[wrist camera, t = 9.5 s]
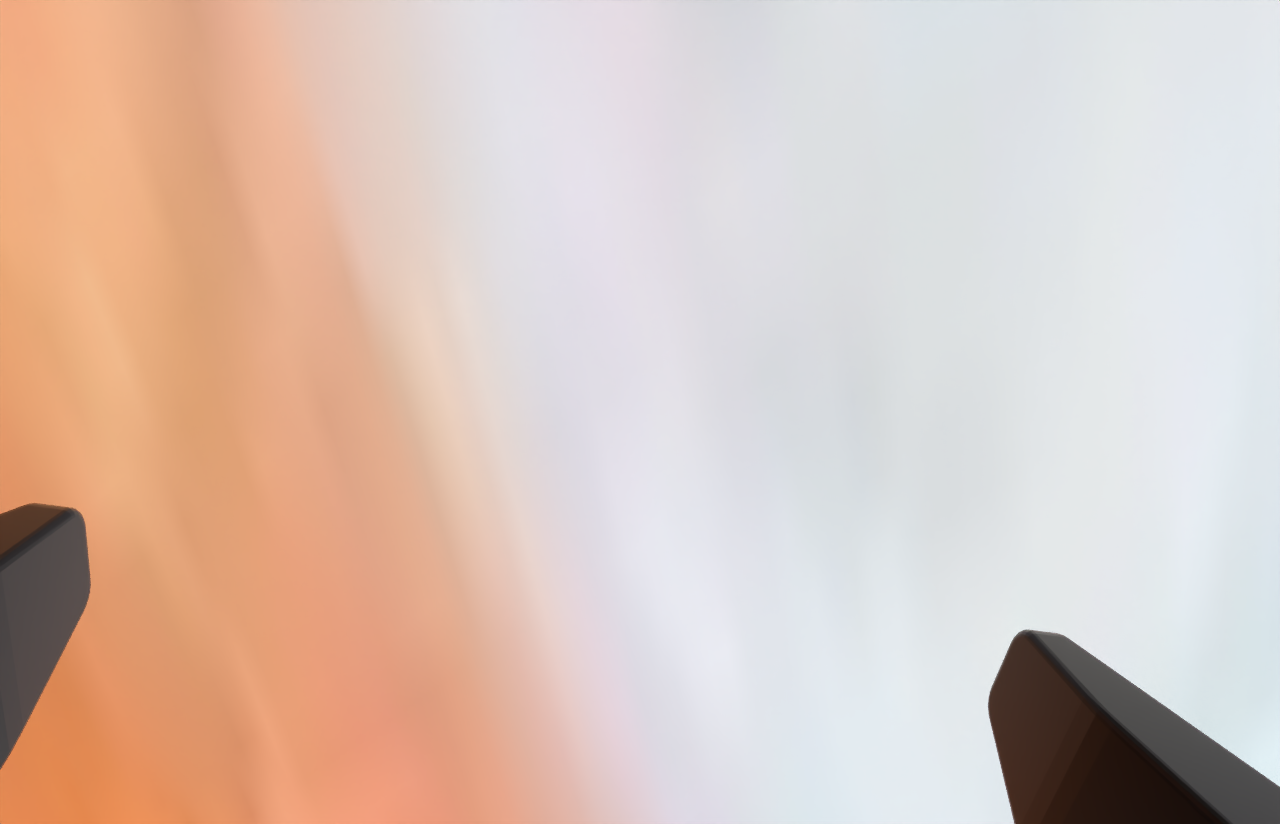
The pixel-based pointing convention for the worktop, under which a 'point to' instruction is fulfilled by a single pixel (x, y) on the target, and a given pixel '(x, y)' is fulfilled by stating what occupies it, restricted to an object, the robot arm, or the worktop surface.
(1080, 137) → the worktop surface
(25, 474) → the worktop surface
